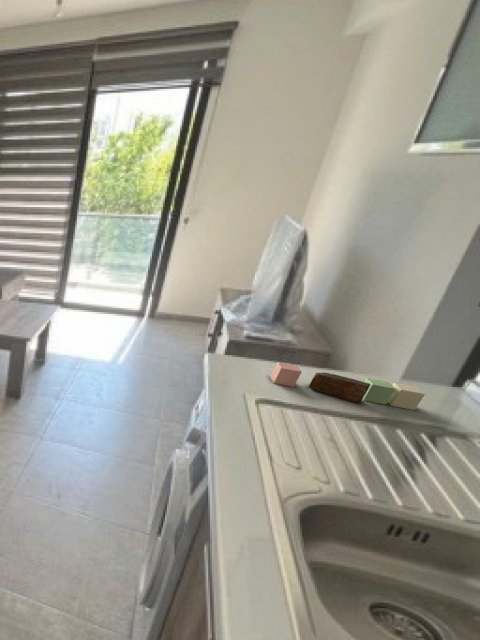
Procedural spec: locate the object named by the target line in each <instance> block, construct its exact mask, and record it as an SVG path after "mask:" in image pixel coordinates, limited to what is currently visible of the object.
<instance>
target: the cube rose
mask: <svg viewBox="0 0 480 640" xmlns="http://www.w3.org/2000/svg"><path fill="white" fill-rule="evenodd" d="M272 370H273V371H272V373H271V375H270V379H271V380H272V383H273V384H277V385H282V386H287V387H292V388H294V387H295V386H296V385H297V383H298V380H299V378H300V376H301V375H302V372H303V371H302V370H301V369H300V367H299V366H298V365H295V364H290V363H285V362H277V363H276V364H275V366H274V369H272Z"/></svg>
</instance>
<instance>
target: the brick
mask: <svg viewBox="0 0 480 640" xmlns="http://www.w3.org/2000/svg"><path fill="white" fill-rule="evenodd" d="M369 387H370V384H369V383H366V382H364V381H362V380H357V379H354V378H352V377H351V378H350V377H347V376H342V375H340V374H336V373H330V372H323V371H322V372H315V374H314V376H313V377H312V379H311V381H310V383H309V384H308V388H309V389H311V390H313V391H316V392H318V393H321V394H325V395H328V396H331V397H335V398H338V399H342V400H345V401H348V402H352V403H355V404H360V403H362V401H363V397H364V395H365V394H366V392H367V390H368V389H369Z"/></svg>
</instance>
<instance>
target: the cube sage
mask: <svg viewBox="0 0 480 640" xmlns="http://www.w3.org/2000/svg"><path fill="white" fill-rule="evenodd" d="M363 382H366V383H369V384H370V387H369V389H368V390H367V392H366V394H365V395H364V397H363V399H362V401H365V402H370V403H376V404H382V405H387V404H388V400H389V399H390V397H391V396H392V394H393V392H394V391H395V388H394V387H393V386H392V385H393V384H391V383H390V382H389V381H386V380H381V379H375V378H368V377H366V378H365V379H364V380H363Z"/></svg>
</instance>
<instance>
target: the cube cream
mask: <svg viewBox="0 0 480 640" xmlns="http://www.w3.org/2000/svg"><path fill="white" fill-rule="evenodd" d="M391 385H392V386H393V387H394V388H395V391H394V392H393V394H392V396H391V397H390V399H389V400H388V402H387V404H389V405H390V406H391V407H396V408H402V409H406V410H412V411H415V410H416V409H417V407H418V405H419V404H420V403H421V400H422V399H423V398H424V396H425V395H426V393H425V392H423V391H422V390H421V389H420V388H418V387H417V386H413V385H409V384H403V383H396V382H393V383H392V384H391Z"/></svg>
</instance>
